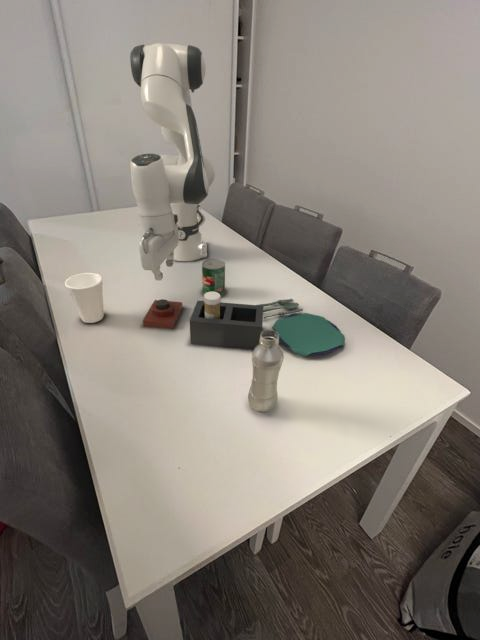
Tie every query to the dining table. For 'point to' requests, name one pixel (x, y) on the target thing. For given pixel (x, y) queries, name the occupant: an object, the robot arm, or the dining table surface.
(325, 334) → the cutlery set
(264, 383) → the plastic bottle
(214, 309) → the sprinkles bottle
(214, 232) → the dining table surface
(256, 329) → the dark grey hollow block
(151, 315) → the button block
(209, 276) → the canned tomato
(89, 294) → the cup
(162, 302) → the button
